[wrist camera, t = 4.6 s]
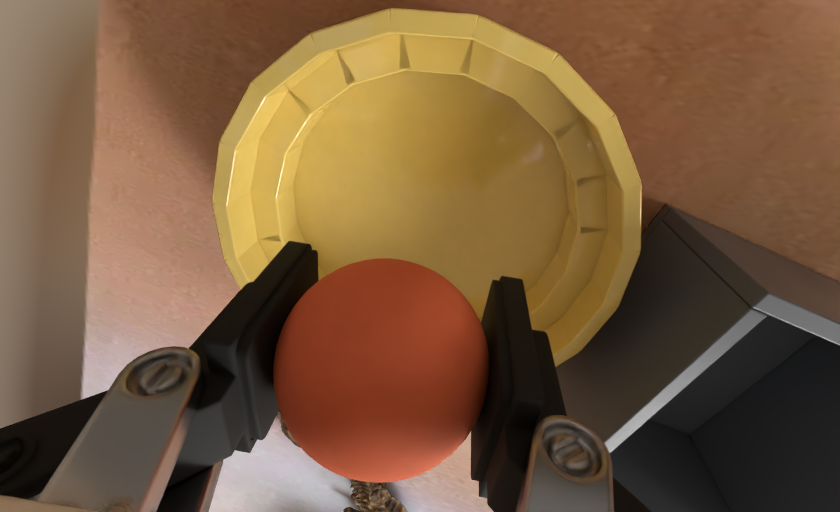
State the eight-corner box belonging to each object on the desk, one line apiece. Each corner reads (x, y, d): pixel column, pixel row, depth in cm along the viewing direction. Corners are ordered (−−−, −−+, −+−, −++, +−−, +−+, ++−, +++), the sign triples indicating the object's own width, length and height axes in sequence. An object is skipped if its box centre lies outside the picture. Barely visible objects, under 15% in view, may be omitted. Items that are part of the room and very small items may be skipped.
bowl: (306, -62, 13) (247, -97, 10) (690, 121, 15) (758, 147, 11) (242, 277, 21) (195, 325, 17) (499, 377, 22) (504, 441, 19)
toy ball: (343, 193, 10) (245, 321, 5) (519, 266, 10) (550, 434, 6) (302, 326, 12) (214, 483, 8) (444, 379, 12) (429, 553, 8)
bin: (665, 203, 16) (768, 291, 11) (867, 294, 17) (1061, 421, 11) (528, 374, 22) (548, 492, 16) (686, 436, 23) (756, 568, 17)
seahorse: (344, 399, 24) (332, 426, 23) (429, 525, 30) (425, 553, 29) (275, 406, 26) (260, 432, 24) (369, 524, 32) (361, 550, 31)
